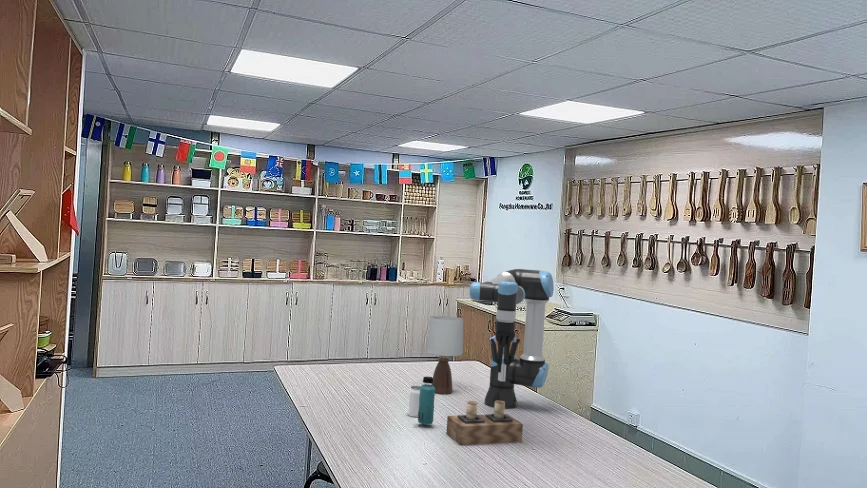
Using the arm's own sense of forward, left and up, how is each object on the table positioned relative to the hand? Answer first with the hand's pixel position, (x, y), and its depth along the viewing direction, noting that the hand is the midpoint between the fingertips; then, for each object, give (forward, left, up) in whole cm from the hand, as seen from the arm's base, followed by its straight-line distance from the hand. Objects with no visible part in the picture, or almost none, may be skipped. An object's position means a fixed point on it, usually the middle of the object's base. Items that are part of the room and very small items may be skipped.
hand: (501, 380), depth 258 cm
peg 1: (+12, 0, -16) cm, 20 cm away
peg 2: (0, 0, -16) cm, 16 cm away
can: (+23, -33, -23) cm, 46 cm away
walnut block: (+6, 0, -22) cm, 23 cm away
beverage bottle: (+24, -18, -23) cm, 38 cm away
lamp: (-4, -72, -23) cm, 76 cm away
